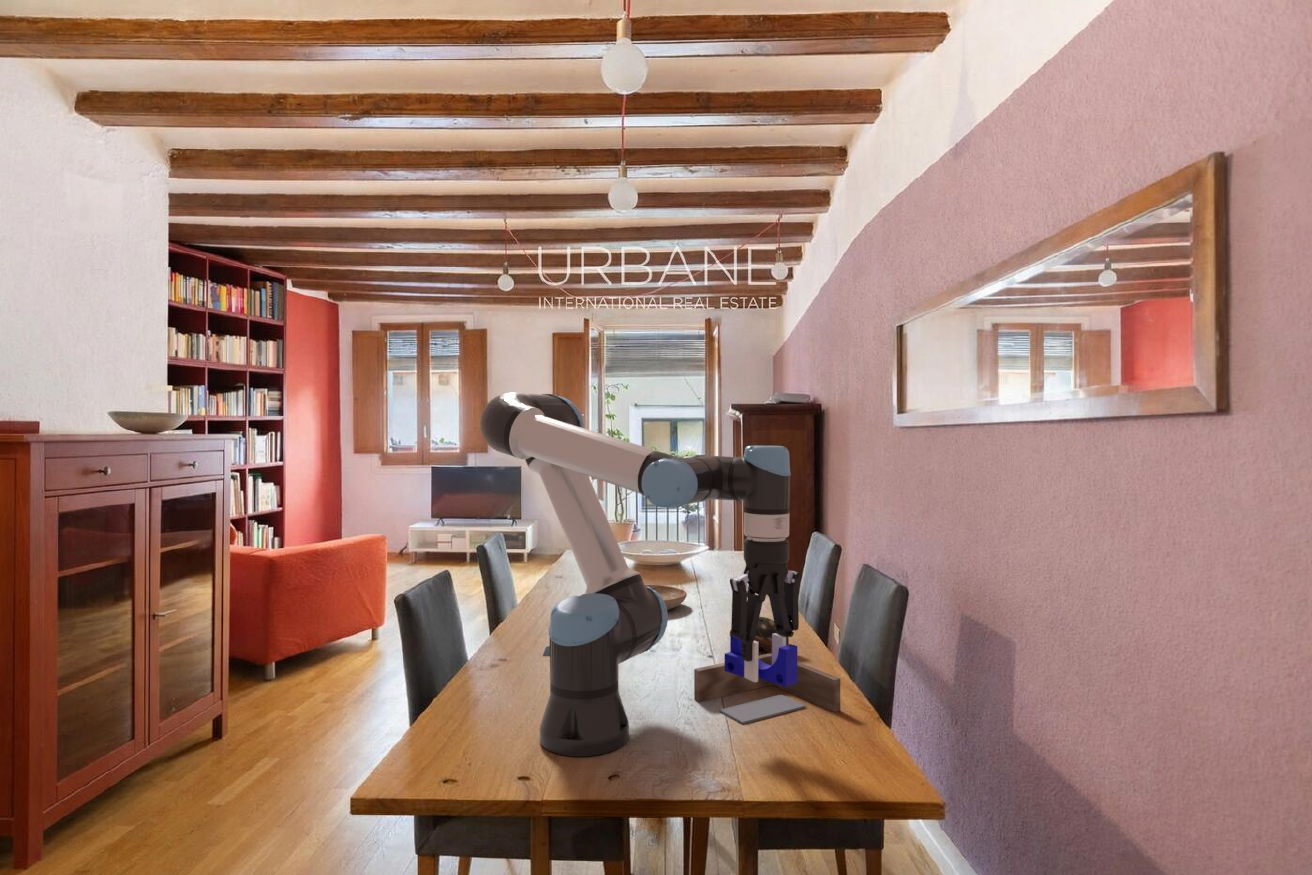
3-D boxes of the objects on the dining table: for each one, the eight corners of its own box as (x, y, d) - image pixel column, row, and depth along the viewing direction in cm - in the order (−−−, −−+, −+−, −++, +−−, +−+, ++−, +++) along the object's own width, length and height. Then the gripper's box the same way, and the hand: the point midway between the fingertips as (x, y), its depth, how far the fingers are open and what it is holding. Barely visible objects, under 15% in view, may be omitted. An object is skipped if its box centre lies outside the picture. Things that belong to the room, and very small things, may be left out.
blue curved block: (724, 670, 127) (724, 636, 127) (741, 665, 130) (741, 631, 130) (780, 688, 118) (780, 651, 118) (797, 682, 121) (797, 645, 121)
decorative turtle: (791, 658, 170) (788, 623, 169) (726, 656, 174) (724, 623, 174) (796, 644, 179) (793, 611, 179) (734, 643, 183) (731, 611, 183)
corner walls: (756, 733, 127) (756, 699, 127) (694, 699, 144) (694, 668, 144) (840, 710, 138) (840, 678, 138) (773, 681, 154) (773, 652, 154)
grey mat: (742, 724, 131) (742, 722, 131) (719, 711, 137) (719, 709, 137) (805, 707, 139) (805, 705, 139) (781, 696, 145) (781, 694, 145)
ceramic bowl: (687, 618, 206) (687, 600, 206) (603, 618, 207) (603, 600, 207) (685, 599, 230) (685, 583, 230) (610, 599, 230) (610, 583, 230)
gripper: (736, 545, 115) (735, 693, 116) (822, 537, 125) (821, 673, 125) (708, 538, 122) (707, 679, 122) (792, 531, 131) (791, 661, 131)
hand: (765, 676), depth 123 cm, fingers closed on blue curved block, 5 cm apart
